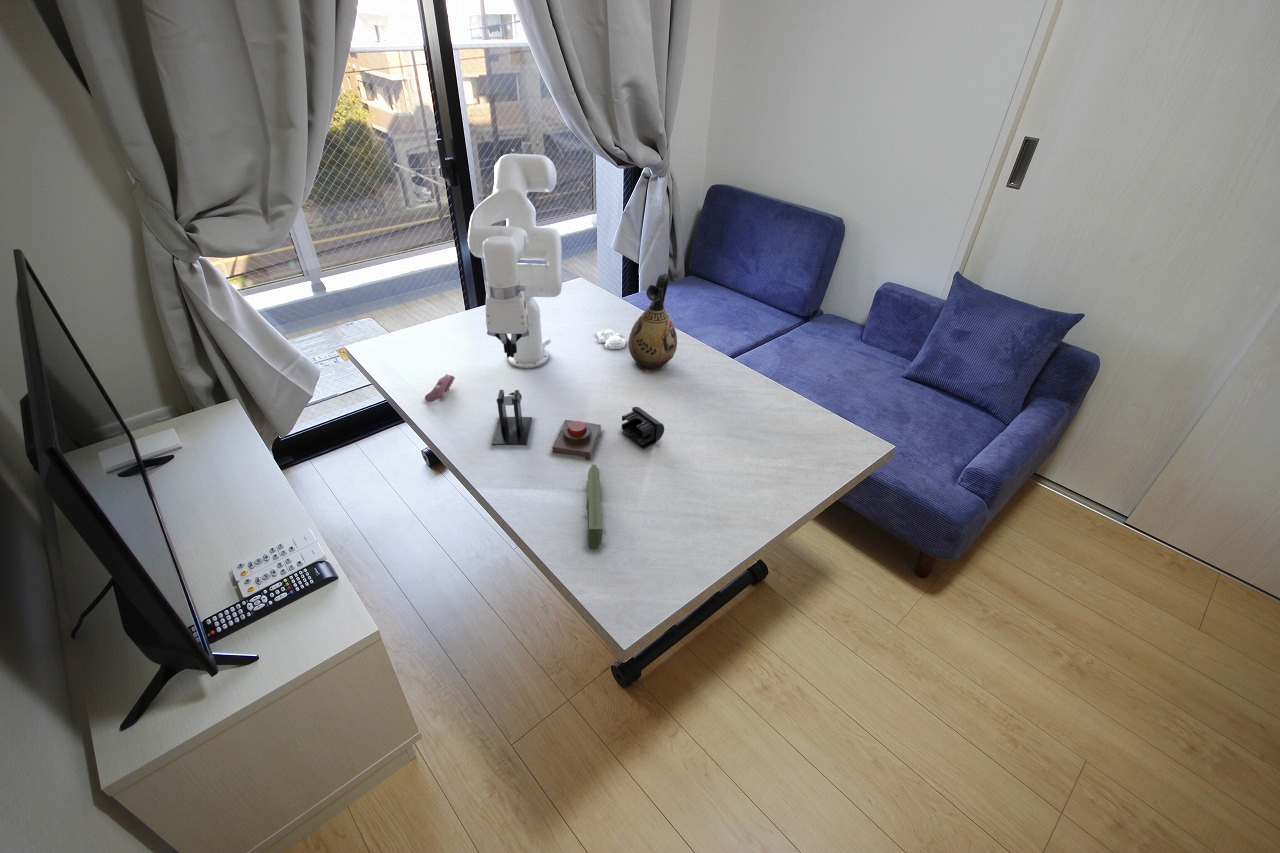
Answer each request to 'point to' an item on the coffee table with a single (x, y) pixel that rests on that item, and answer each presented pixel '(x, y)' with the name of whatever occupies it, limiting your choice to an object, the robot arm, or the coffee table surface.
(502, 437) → the switch bracket
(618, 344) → the white fluffy lump
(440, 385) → the video game controller
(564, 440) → the button box
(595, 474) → the handheld radio
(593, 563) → the coffee table surface
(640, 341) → the ceramic jug
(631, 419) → the end cap
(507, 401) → the switch lever
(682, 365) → the coffee table surface
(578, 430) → the button
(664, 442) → the coffee table surface
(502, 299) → the robot arm
